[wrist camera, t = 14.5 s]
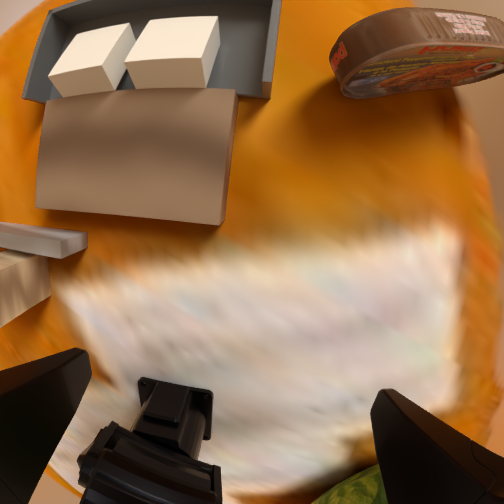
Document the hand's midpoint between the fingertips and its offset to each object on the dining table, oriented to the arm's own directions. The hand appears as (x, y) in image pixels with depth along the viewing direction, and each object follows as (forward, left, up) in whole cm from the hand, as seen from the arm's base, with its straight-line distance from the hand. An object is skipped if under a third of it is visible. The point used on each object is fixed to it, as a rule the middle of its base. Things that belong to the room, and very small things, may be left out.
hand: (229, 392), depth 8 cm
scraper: (-3, +19, -12) cm, 23 cm away
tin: (+16, -10, -13) cm, 23 cm away
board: (+7, +9, -12) cm, 17 cm away
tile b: (+13, +12, -11) cm, 21 cm away
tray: (+15, +9, -12) cm, 22 cm away
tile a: (+13, +6, -11) cm, 18 cm away
